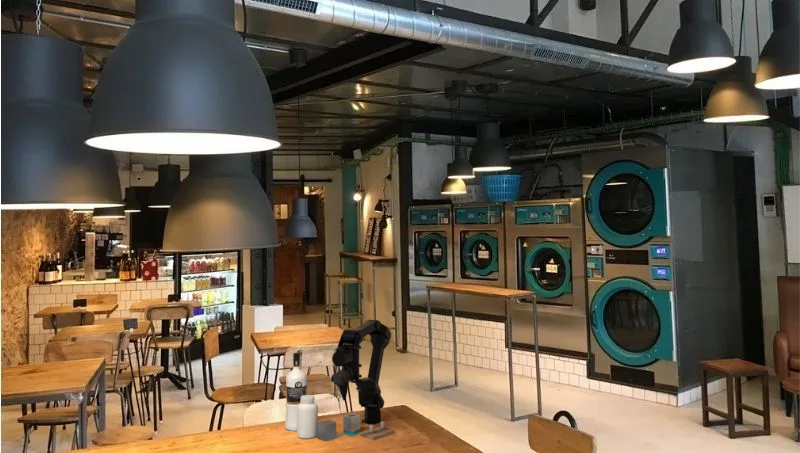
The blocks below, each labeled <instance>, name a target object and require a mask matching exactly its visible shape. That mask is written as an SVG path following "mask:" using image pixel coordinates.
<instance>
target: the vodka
mask: <svg viewBox="0 0 800 453" xmlns="http://www.w3.org/2000/svg"><path fill="white" fill-rule="evenodd" d="M300 357H301V356H300V352H294V353H293V354H292V358H293V359H292V362H293V363H292V364H293V365H292V366H293V367H292V370H290V371H289V372H288V373H287V374H286V376H285V381H286V382H285V386H286V403H285V407H286V408H285V410H286V412H285V422H284V428H285V429H286V430H287V431H289V432H297V406H298V405H299V404H300V403H301V402H300V401H301V396H303V395H308V394H307V384H308V382H307V381H308V380H307V379H308V376H307V373H306V372H305V371H303V370H302V369H301V368H300V367H301V366H300V365H301V364H300V360H301V359H300Z"/></svg>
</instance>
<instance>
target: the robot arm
mask: <svg viewBox="0 0 800 453" xmlns="http://www.w3.org/2000/svg"><path fill="white" fill-rule="evenodd" d="M367 336H370V343H371V346H372V351H371V357H370V361H369V368H368V373H367V377H363V376H362V374H360V368H362V367H363V366H362V363H360V350H361V349H362V346H361V345H360V344H362V342H363V341H364V337H367ZM391 337H392V332H391V330H390V329H389V327H388V326H387V325H384V324H383V323H381V321H380V320H378V319H368V320H367V321H366V322H364V323H361V324H360V325H359V326H357V327H353V328H345V329H344V330H343V331H342V332H341V335H340V338H339V340H338V343H337V348H336V351H335V352H334V353H333V354H332V356H331V361H332V363H333V365H334V366H335V367H338V368H340V367H341V369H340V370H338V371H337V372H335V373H333V374H332V375H331V378H330V379H331V380H330V381H331V383H333V384H334V385H335V386H336V387H338V389H339V392H340V395H341V399H342V401H346V399H347V395H348V389H349V384H350V383H353V384H355V386H356V387H355V389H356V390H357V393H358V394H357V395H358V396H357V397H358V405H359V406H360V407H361V408H364V419H362V420H361V423H364V424H369V425H376V424H379V423H381V421H384V420H383V419H382V417H381V416H382V415H381V414H382V411H381V409H383V408H384V407H385V399H384V398H383V396H382V395H381V393H382V390H381V388H380V385H379V384H380V383H379V380H380V375H381V369H382V363H383V358H384V351H385V350H386V348H387V347H388V346H389V344H390V340H391Z"/></svg>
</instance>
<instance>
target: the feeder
mask: <svg viewBox="0 0 800 453" xmlns="http://www.w3.org/2000/svg"><path fill="white" fill-rule="evenodd" d="M316 437H317V440H321V441H323V442H328V441H332V440H334V439H338V438H341V437H343V434H342V433H339V432H337V422H336V421H334V420H330V419H325V420H322V421H319V422H318V423H317V436H316Z"/></svg>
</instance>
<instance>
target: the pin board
mask: <svg viewBox="0 0 800 453" xmlns="http://www.w3.org/2000/svg"><path fill="white" fill-rule="evenodd" d="M385 423H386V422H385V421H384V420H383V421H381V422H380V425H379V426H376V427H375V426H374V425H375V424H373V425H372V424H369V429H366V430H363V431H360V434H359V437H363V438H367V439H369V440H372V441H376V440H379V439H381V438H385V437H387V436H391V435H393V434H395V429H392V428H388V427H386V424H385Z"/></svg>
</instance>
